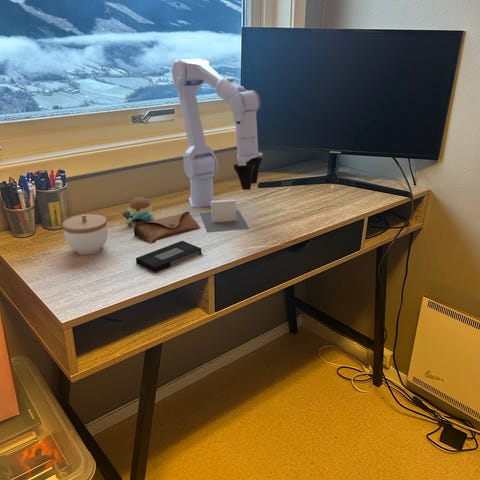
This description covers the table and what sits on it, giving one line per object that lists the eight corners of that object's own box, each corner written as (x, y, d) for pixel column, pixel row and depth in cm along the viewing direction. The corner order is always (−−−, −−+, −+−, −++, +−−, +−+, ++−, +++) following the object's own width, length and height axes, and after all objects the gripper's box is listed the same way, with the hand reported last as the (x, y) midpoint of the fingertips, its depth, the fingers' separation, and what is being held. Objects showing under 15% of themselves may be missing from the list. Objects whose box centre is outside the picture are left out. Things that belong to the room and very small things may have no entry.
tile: (211, 220, 140) (210, 200, 137) (234, 218, 141) (234, 199, 139) (212, 222, 138) (211, 202, 136) (235, 220, 140) (235, 200, 137)
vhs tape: (202, 255, 120) (201, 248, 119) (155, 275, 110) (154, 267, 109) (182, 247, 124) (182, 240, 124) (136, 265, 115) (135, 257, 114)
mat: (200, 214, 146) (199, 212, 146) (238, 211, 148) (238, 210, 148) (206, 233, 132) (206, 232, 131) (249, 230, 134) (249, 228, 133)
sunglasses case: (148, 244, 125) (140, 220, 125) (139, 250, 131) (131, 226, 131) (205, 228, 135) (197, 206, 135) (194, 234, 141) (186, 212, 141)
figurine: (118, 223, 143) (112, 203, 139) (147, 210, 147) (142, 191, 144) (129, 232, 137) (123, 211, 134) (159, 218, 142) (154, 198, 139)
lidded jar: (72, 242, 127) (67, 208, 123) (113, 240, 128) (109, 207, 124) (61, 259, 117) (55, 223, 114) (106, 257, 118) (101, 222, 114)
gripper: (255, 141, 123) (258, 192, 127) (266, 133, 136) (268, 180, 140) (228, 141, 124) (232, 192, 129) (242, 134, 138) (245, 180, 142)
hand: (249, 186), depth 135 cm, fingers open, 7 cm apart
